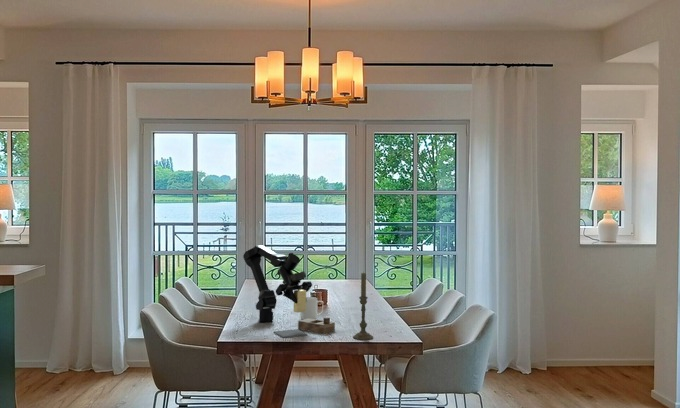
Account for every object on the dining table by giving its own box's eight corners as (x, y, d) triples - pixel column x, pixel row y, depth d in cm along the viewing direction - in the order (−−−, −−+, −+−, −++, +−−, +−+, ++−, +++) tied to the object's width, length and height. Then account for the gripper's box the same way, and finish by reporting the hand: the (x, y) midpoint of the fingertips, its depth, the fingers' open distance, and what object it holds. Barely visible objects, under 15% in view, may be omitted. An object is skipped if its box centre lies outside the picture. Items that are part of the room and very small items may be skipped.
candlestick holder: (372, 335, 282) (372, 270, 282) (374, 340, 273) (374, 272, 273) (352, 335, 282) (353, 270, 282) (353, 340, 273) (354, 272, 272)
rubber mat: (273, 332, 286) (273, 331, 286) (297, 330, 292) (297, 329, 292) (283, 338, 275) (283, 336, 275) (307, 335, 281) (307, 334, 281)
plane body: (298, 329, 295) (298, 315, 295) (308, 326, 301) (308, 313, 301) (324, 333, 285) (324, 319, 285) (334, 330, 292) (334, 317, 292)
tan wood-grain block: (293, 311, 291) (293, 290, 291) (301, 310, 294) (302, 289, 294) (297, 312, 289) (297, 291, 289) (305, 311, 292) (306, 290, 292)
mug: (299, 321, 314) (299, 299, 313) (300, 317, 322) (301, 296, 322) (323, 321, 314) (323, 299, 313) (323, 318, 322) (323, 297, 322)
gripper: (279, 267, 288) (293, 293, 280) (310, 264, 300) (324, 290, 292) (269, 281, 294) (282, 308, 286) (300, 278, 306) (313, 304, 298)
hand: (301, 302), depth 291 cm, fingers closed on tan wood-grain block, 5 cm apart
